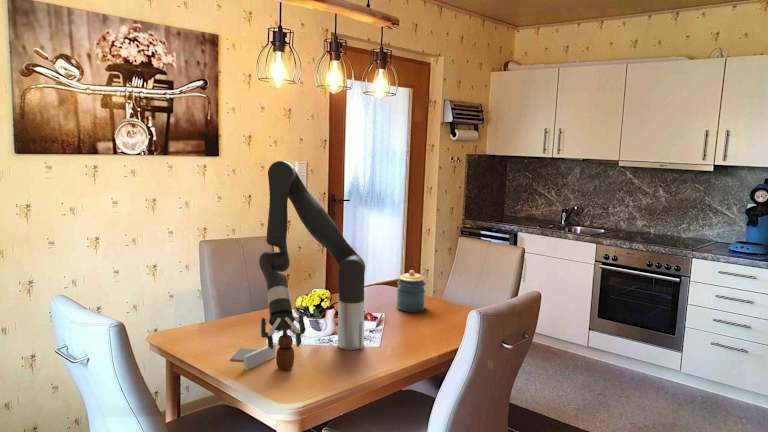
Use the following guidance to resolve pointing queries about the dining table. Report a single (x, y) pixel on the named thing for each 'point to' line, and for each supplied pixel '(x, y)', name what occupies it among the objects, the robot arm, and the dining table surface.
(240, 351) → the slate coaster
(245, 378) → the dining table surface
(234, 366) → the dining table surface
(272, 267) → the robot arm
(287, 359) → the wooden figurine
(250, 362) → the frosted wall
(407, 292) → the canister
